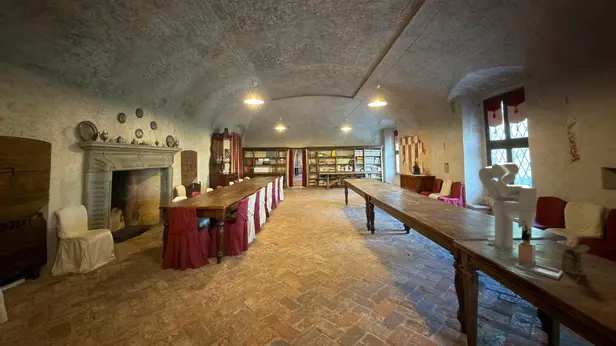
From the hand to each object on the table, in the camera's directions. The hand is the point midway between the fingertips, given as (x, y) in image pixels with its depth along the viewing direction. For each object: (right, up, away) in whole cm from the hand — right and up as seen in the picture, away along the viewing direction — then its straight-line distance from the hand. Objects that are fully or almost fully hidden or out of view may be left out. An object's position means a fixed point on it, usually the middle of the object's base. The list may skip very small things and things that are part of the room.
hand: (526, 239), depth 132 cm
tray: (-5, -14, -11) cm, 19 cm away
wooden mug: (+11, -14, -14) cm, 23 cm away
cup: (0, -13, 0) cm, 13 cm away
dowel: (0, -10, +1) cm, 10 cm away
